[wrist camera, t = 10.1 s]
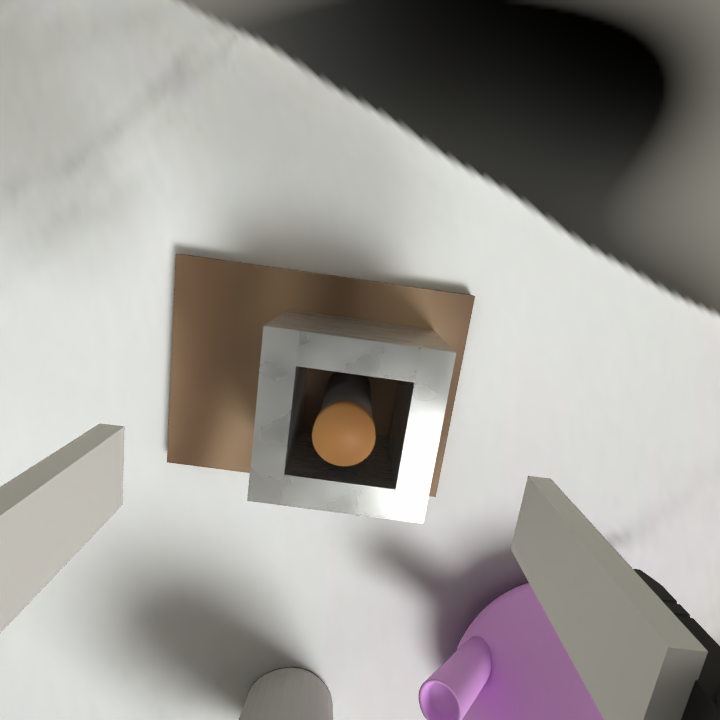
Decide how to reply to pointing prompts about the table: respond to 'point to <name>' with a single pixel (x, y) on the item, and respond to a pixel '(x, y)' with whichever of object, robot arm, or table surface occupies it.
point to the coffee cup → (288, 697)
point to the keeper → (324, 388)
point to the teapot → (508, 669)
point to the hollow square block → (390, 453)
